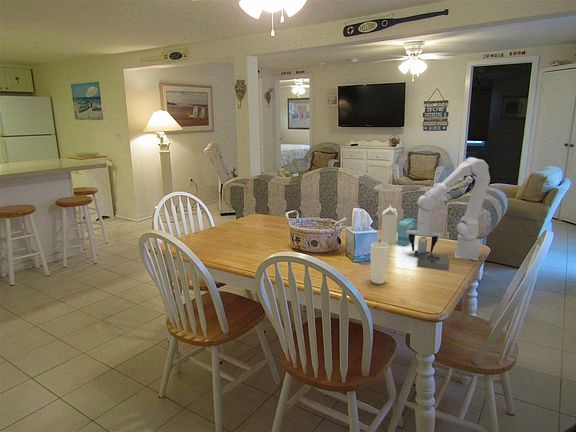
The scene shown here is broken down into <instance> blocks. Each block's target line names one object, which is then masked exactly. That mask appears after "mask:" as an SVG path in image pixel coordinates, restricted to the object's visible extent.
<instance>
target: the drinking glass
mask: <svg viewBox="0 0 576 432" xmlns="http://www.w3.org/2000/svg"><path fill="white" fill-rule="evenodd" d="M389 253H390V244H386V243H382V242H381V241H380V242H379V241H376V242H373V243H371V244H370V273H371V274H370V275H371V278H370V279H371V282H372V283H373V284H378V285H382V284H385V282H386V279H387V277H386V275H387V269H388V264H389V256H390V255H389Z"/></svg>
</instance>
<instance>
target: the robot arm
mask: <svg viewBox="0 0 576 432" xmlns="http://www.w3.org/2000/svg"><path fill="white" fill-rule="evenodd" d="M466 176H467V177H468V176H472V177H473V179H474V181H475V182H474V185H473V188H472V192H471V195H470V197H469V201H468V205H467V207H466V211H465V214H464V215H463V216H462V217H461V218H460V221H459V222H458V223H457V225H456V232H457V233H458V235H457V239H456V241H457V242H456V249H455V251H454V257H455V258H456V259H457V258H458V259H466V260H471V261H479V257H480V253H481V252H480V248H481V238H477V237H478V236H479V215H480V212H481V209H482V206H483V204H484V200H485V196H486V195H487V194H486V193H487V191H488V187H489V185H490V181H491V175H490V172H489V165H488V163H486V161H485V160H484V159H481V158H480V159H479V158H477V157H473V156H469V157H467V158H466V159H465V160H464V161H462V162H461V163H460V164H459V165H458V166H457V168H455V170H453V172H451V174H450V175H448V176H447V177H446V178H445V179H444V180H443V181H441V182H437V183H434V184H433V185H432V188H430V189H429V190H428V191H426V192H424V194H423V195H420V196H419V197H418V200H416V203H417V206H418V212H417V222H416V230H407V231H406V235H409V240H410V242H411V243H410V245H411V246H410V247H411V252H415V241H416V237H426V238H431V242H430V243H431V244H430V246H431V247H430V251H429V252H430V254H433V250H434V248H435V246H436V243H437V242H438V239H441V238H442V237H441V236H442V232H435V231H431V227H432V214H433V213H432V212H433V209H434V207H435V206H436V205H435V204H436V203H437V202H438V201H439V200H440V199H442V198H443V197H444V196H445V195H446V194H447V193H448V189H449V188H450V187H451V186H452V185H454V184H455V183H456V182H458V181H459V180H460V179H461V178H462V177H466ZM414 240H415V241H414Z"/></svg>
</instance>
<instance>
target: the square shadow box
mask: <svg viewBox="0 0 576 432" xmlns="http://www.w3.org/2000/svg"><path fill="white" fill-rule="evenodd" d="M426 253H429V254H431V253H430V251H426ZM417 254H418V250H416V249H414V254H413V257H414V258H418V257H419V255H417Z"/></svg>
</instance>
